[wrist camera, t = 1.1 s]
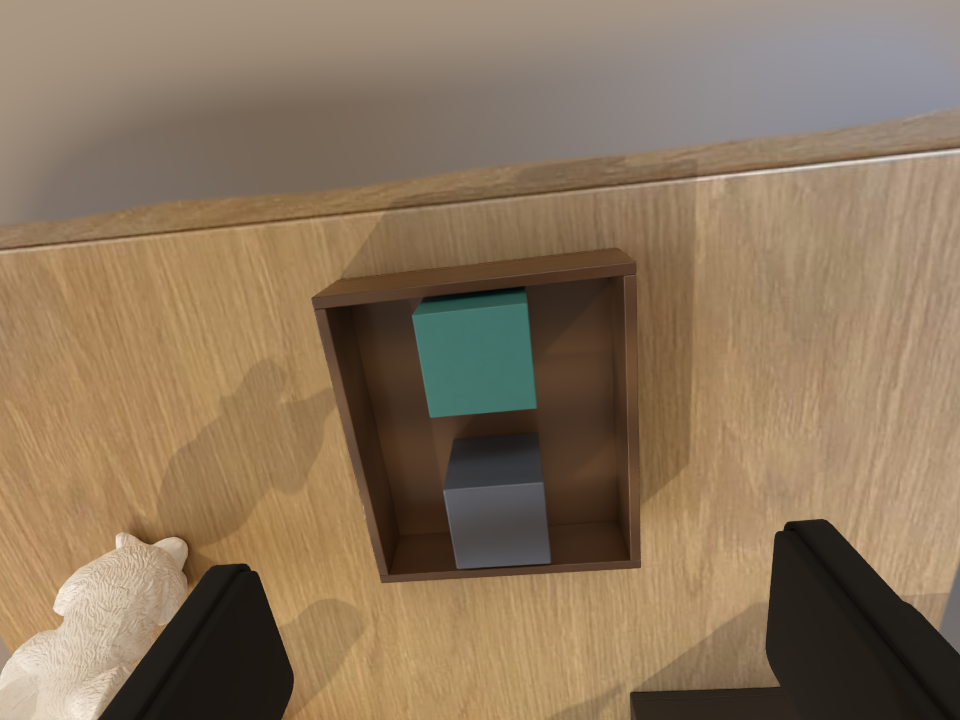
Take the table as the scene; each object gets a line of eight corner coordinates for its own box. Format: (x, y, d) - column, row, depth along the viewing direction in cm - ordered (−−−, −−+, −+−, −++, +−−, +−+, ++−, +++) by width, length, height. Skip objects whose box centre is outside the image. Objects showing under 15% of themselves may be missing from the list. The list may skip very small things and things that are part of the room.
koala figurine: (126, 610, 32) (-75, 845, 21) (72, 525, 30) (-184, 739, 19) (247, 591, 31) (103, 828, 20) (201, 501, 29) (10, 713, 18)
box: (337, 279, 24) (310, 297, 21) (617, 247, 23) (636, 261, 20) (395, 536, 29) (380, 583, 26) (625, 521, 28) (641, 568, 25)
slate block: (452, 439, 26) (442, 490, 22) (538, 431, 26) (544, 482, 22) (464, 509, 28) (456, 569, 24) (545, 503, 27) (551, 564, 23)
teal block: (428, 288, 23) (411, 315, 19) (524, 278, 23) (527, 303, 19) (442, 376, 25) (429, 418, 21) (532, 367, 25) (537, 409, 20)
